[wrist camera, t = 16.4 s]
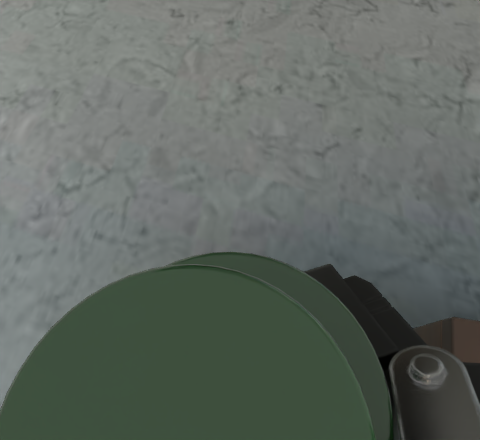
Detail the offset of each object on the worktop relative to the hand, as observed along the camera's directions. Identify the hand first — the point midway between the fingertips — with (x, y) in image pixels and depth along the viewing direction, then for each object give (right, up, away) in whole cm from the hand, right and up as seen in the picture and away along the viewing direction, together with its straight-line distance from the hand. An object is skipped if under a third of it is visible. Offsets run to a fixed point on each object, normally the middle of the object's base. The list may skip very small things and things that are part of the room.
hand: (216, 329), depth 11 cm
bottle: (+1, -5, +7) cm, 9 cm away
